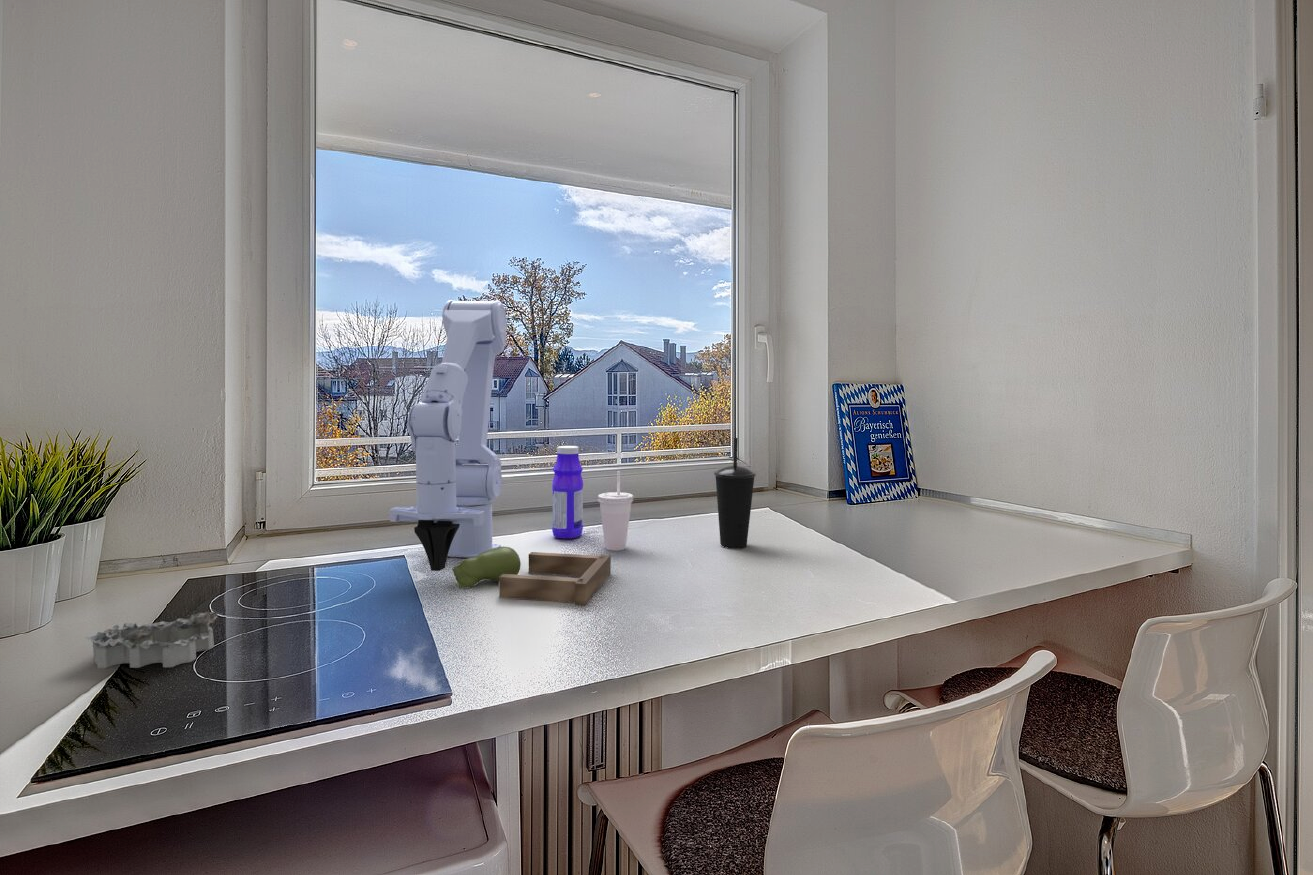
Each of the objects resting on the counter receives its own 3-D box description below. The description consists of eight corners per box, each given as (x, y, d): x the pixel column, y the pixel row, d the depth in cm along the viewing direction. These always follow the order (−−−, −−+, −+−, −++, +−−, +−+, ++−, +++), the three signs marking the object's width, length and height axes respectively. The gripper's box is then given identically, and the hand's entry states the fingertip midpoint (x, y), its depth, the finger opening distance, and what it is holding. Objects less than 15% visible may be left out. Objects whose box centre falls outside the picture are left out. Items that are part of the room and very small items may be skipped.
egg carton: (224, 644, 80) (223, 610, 79) (179, 672, 72) (177, 635, 72) (133, 642, 80) (131, 608, 80) (79, 670, 72) (76, 633, 72)
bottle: (557, 531, 136) (557, 444, 135) (585, 531, 136) (585, 444, 134) (548, 539, 129) (548, 448, 127) (578, 540, 129) (578, 449, 127)
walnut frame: (497, 599, 95) (496, 578, 95) (533, 568, 110) (533, 550, 110) (585, 605, 93) (585, 583, 93) (610, 573, 108) (610, 554, 108)
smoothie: (628, 553, 120) (628, 474, 119) (593, 551, 121) (593, 473, 120) (636, 544, 126) (637, 469, 125) (603, 542, 128) (603, 468, 126)
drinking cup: (707, 548, 124) (709, 438, 122) (719, 538, 131) (721, 435, 129) (748, 552, 121) (751, 440, 119) (758, 542, 128) (761, 437, 126)
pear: (520, 548, 102) (451, 565, 98) (526, 581, 103) (458, 599, 99) (513, 539, 107) (448, 555, 103) (519, 571, 108) (454, 588, 104)
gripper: (377, 483, 101) (379, 573, 102) (470, 487, 98) (471, 579, 100) (402, 476, 108) (404, 561, 109) (489, 480, 105) (491, 566, 106)
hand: (438, 569), depth 105 cm, fingers closed
